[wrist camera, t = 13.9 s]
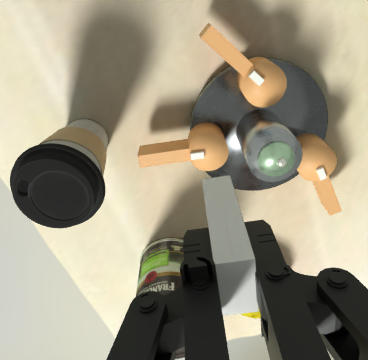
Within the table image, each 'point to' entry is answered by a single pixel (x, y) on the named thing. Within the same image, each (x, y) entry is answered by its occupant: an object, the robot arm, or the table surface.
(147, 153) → the knob
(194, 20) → the table surface
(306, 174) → the knob
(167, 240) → the coffee can
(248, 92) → the knob
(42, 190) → the coffee cup
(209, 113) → the base
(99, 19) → the table surface
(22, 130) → the table surface
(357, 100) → the table surface
